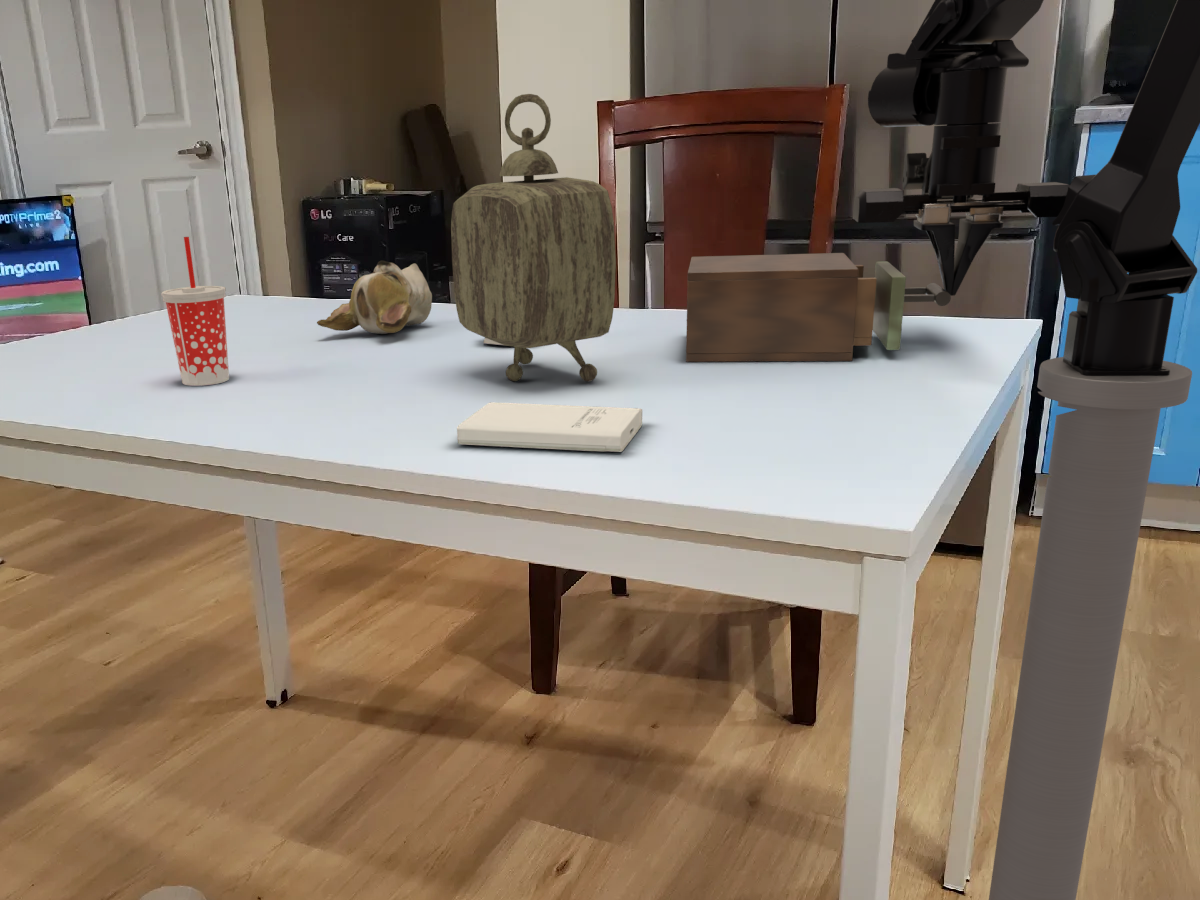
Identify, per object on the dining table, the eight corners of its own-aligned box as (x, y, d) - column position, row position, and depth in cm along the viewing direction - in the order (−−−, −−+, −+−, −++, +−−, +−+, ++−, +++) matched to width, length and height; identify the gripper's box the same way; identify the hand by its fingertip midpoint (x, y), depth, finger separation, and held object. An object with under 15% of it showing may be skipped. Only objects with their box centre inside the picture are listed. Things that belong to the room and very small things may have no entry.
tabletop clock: (616, 382, 100) (615, 88, 91) (533, 398, 96) (524, 90, 87) (529, 360, 112) (521, 97, 103) (452, 373, 108) (437, 100, 99)
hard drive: (491, 420, 89) (642, 425, 85) (457, 447, 82) (620, 454, 78) (490, 400, 89) (642, 405, 85) (456, 426, 82) (620, 432, 78)
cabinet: (838, 335, 117) (844, 252, 114) (852, 360, 104) (858, 268, 101) (690, 337, 120) (691, 256, 117) (685, 361, 108) (687, 272, 105)
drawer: (930, 326, 114) (936, 260, 112) (952, 349, 103) (960, 275, 100) (741, 329, 118) (743, 264, 116) (742, 351, 107) (745, 280, 104)
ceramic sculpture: (450, 250, 132) (381, 273, 121) (457, 321, 136) (390, 350, 124) (378, 250, 138) (305, 272, 126) (386, 319, 141) (316, 347, 129)
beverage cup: (249, 376, 111) (232, 233, 106) (208, 389, 106) (188, 240, 101) (203, 372, 114) (184, 233, 109) (161, 385, 109) (139, 240, 104)
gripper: (1053, 119, 107) (1033, 282, 112) (852, 129, 111) (842, 285, 116) (1087, 119, 97) (1062, 298, 102) (865, 130, 101) (853, 301, 106)
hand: (950, 295), depth 107 cm, fingers closed
